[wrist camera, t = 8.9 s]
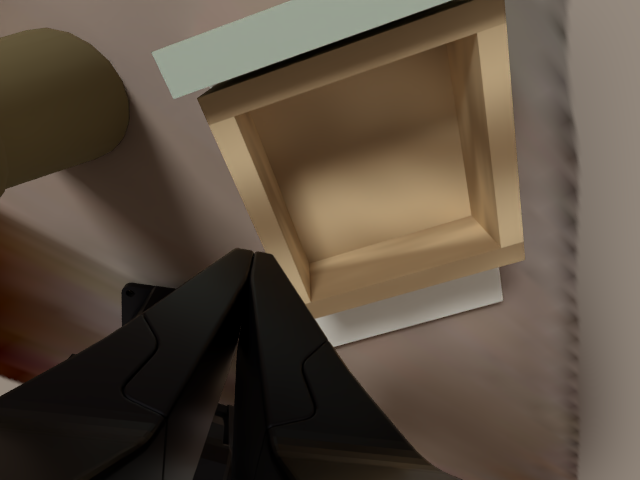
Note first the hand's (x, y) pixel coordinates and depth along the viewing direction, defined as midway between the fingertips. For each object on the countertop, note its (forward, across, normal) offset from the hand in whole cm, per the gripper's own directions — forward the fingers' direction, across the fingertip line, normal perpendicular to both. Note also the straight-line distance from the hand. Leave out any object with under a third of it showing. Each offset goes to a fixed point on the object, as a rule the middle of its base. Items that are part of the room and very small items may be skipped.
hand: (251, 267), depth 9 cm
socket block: (+12, -4, 0) cm, 13 cm away
